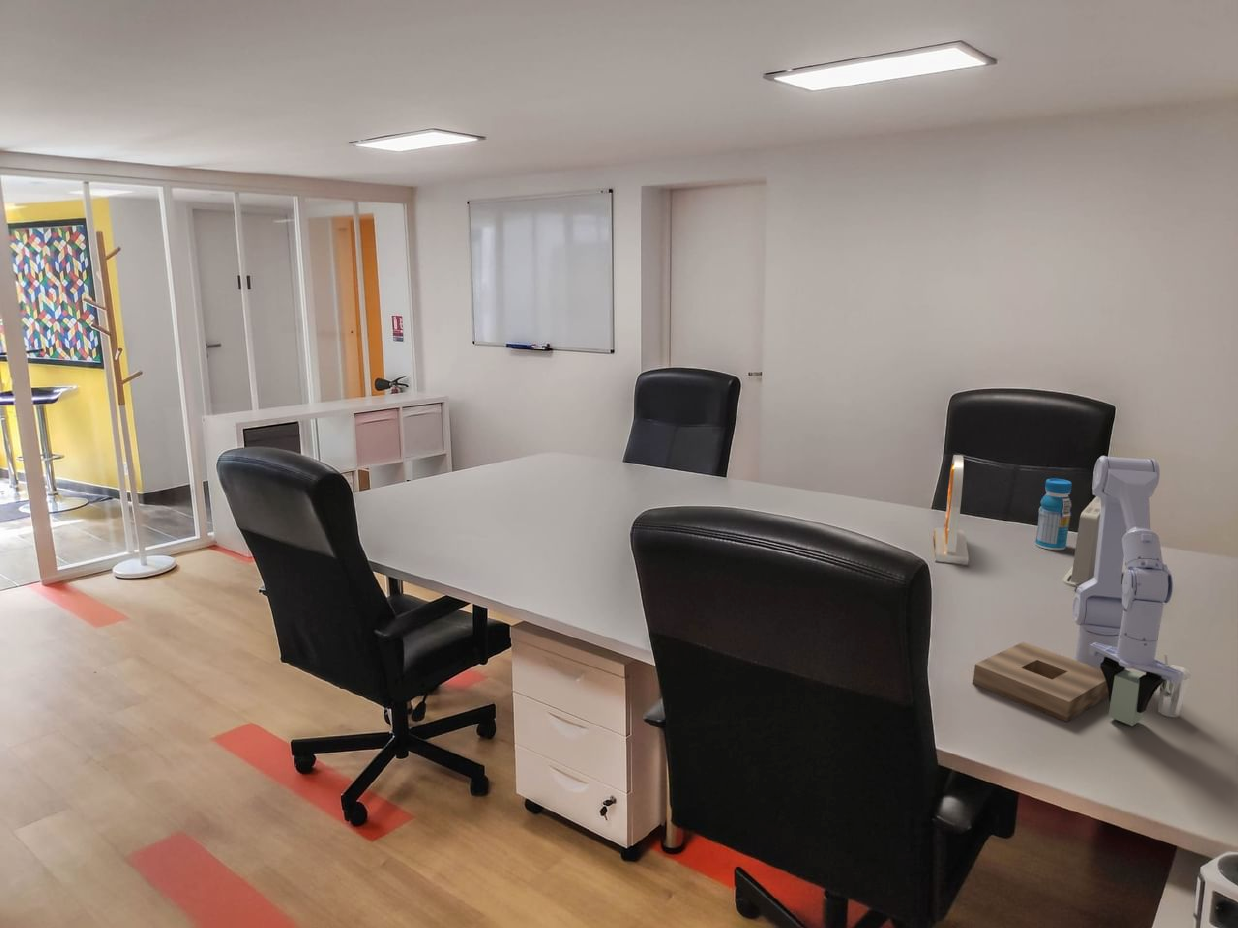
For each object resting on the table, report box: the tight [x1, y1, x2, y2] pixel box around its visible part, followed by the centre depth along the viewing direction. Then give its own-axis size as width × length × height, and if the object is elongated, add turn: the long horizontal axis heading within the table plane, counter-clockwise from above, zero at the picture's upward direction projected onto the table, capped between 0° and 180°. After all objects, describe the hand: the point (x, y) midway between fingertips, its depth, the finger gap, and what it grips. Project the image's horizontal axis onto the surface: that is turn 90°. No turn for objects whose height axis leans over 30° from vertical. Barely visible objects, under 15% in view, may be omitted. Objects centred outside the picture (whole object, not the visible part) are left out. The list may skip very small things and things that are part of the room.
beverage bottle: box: [1034, 478, 1073, 551], centre depth 250 cm, size 8×8×20 cm
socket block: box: [972, 641, 1109, 723], centre depth 163 cm, size 18×18×4 cm
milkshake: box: [1157, 654, 1191, 719], centre depth 155 cm, size 4×5×10 cm
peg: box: [1108, 669, 1144, 727], centre depth 151 cm, size 4×4×8 cm
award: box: [932, 454, 970, 566], centre depth 245 cm, size 28×9×28 cm, turn 161°
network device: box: [1062, 496, 1101, 588], centre depth 224 cm, size 26×9×20 cm, turn 143°
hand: (1127, 705), depth 151 cm, fingers closed on peg, 4 cm apart
